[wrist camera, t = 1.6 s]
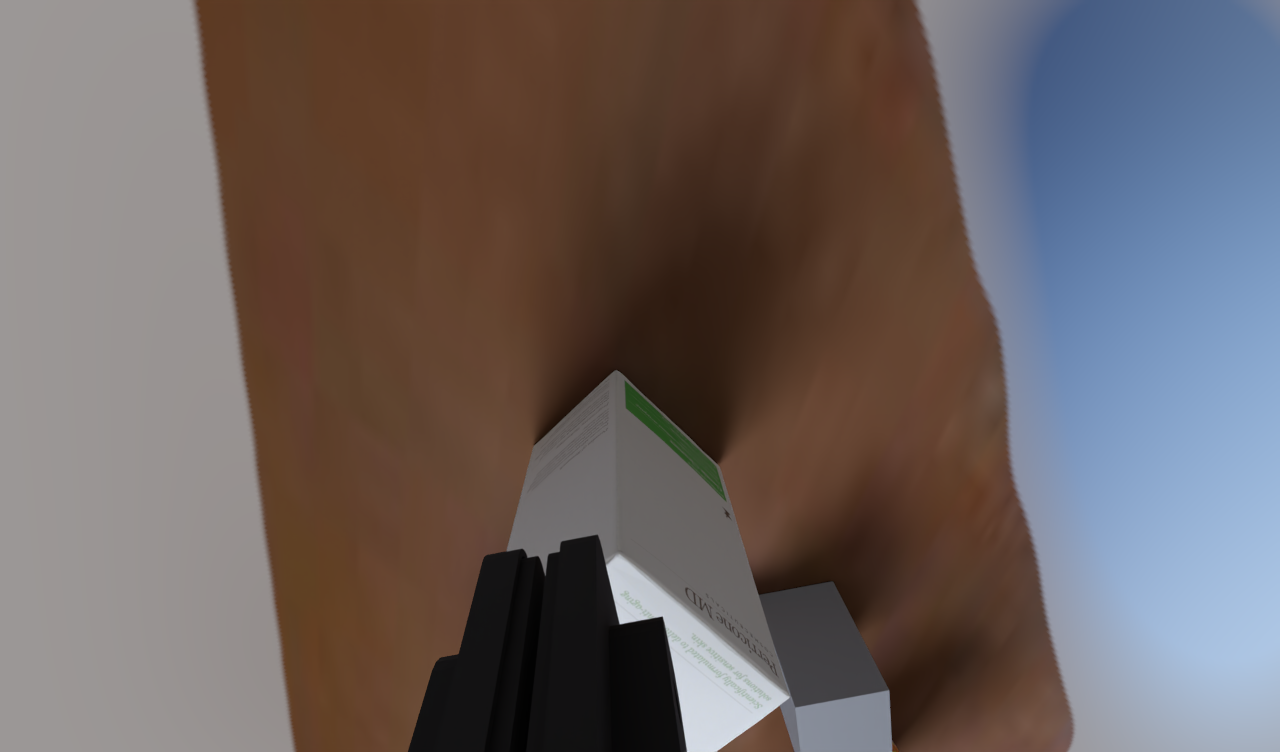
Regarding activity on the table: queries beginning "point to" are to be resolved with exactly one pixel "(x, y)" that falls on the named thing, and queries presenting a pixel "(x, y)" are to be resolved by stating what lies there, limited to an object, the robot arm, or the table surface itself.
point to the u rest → (827, 673)
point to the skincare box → (659, 550)
